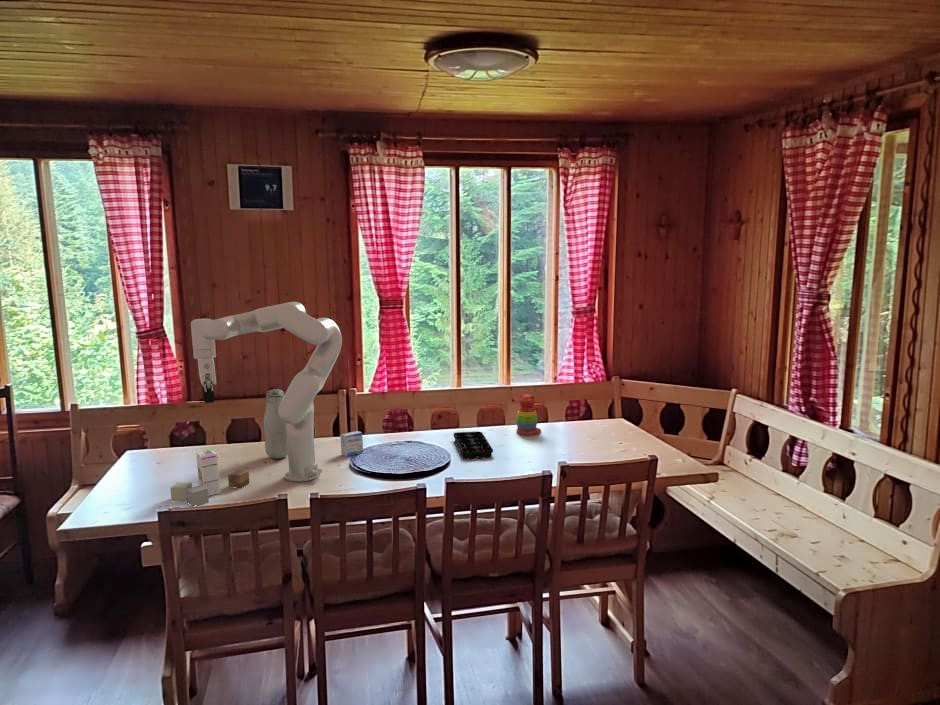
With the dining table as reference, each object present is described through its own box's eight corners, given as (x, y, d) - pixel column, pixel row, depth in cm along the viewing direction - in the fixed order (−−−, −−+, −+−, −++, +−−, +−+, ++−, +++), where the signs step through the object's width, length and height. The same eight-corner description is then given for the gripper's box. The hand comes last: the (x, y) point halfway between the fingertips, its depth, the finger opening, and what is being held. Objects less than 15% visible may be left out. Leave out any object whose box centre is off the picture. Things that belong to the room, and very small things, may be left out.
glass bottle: (267, 463, 262) (263, 393, 258) (264, 455, 271) (259, 388, 267) (293, 459, 266) (289, 390, 262) (289, 452, 275) (285, 385, 271)
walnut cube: (249, 484, 239) (248, 470, 238) (241, 489, 234) (240, 475, 233) (237, 483, 240) (236, 469, 239) (228, 487, 235) (227, 474, 235)
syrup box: (221, 493, 229) (218, 453, 227) (203, 497, 226) (199, 456, 224) (216, 489, 234) (213, 449, 232) (199, 492, 231) (195, 452, 228)
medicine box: (346, 457, 268) (345, 436, 267) (340, 454, 271) (339, 434, 270) (363, 452, 273) (362, 432, 272) (357, 450, 276) (356, 430, 275)
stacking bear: (542, 431, 300) (542, 392, 297) (535, 437, 291) (535, 397, 288) (519, 429, 305) (519, 391, 302) (511, 435, 295) (511, 395, 293)
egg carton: (478, 437, 294) (478, 429, 293) (506, 457, 266) (506, 447, 265) (441, 442, 287) (440, 434, 287) (465, 462, 260) (465, 453, 259)
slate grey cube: (208, 502, 222) (207, 488, 221) (194, 507, 218) (193, 492, 217) (201, 499, 225) (200, 485, 224) (186, 503, 221) (185, 489, 220)
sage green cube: (192, 496, 228) (191, 482, 227) (186, 501, 223) (185, 487, 222) (178, 496, 228) (177, 482, 227) (171, 501, 223) (170, 487, 222)
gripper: (217, 355, 233) (222, 403, 236) (214, 349, 248) (218, 394, 251) (194, 357, 230) (199, 406, 232) (192, 351, 245) (196, 396, 248)
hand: (208, 400), depth 242 cm, fingers open, 9 cm apart
